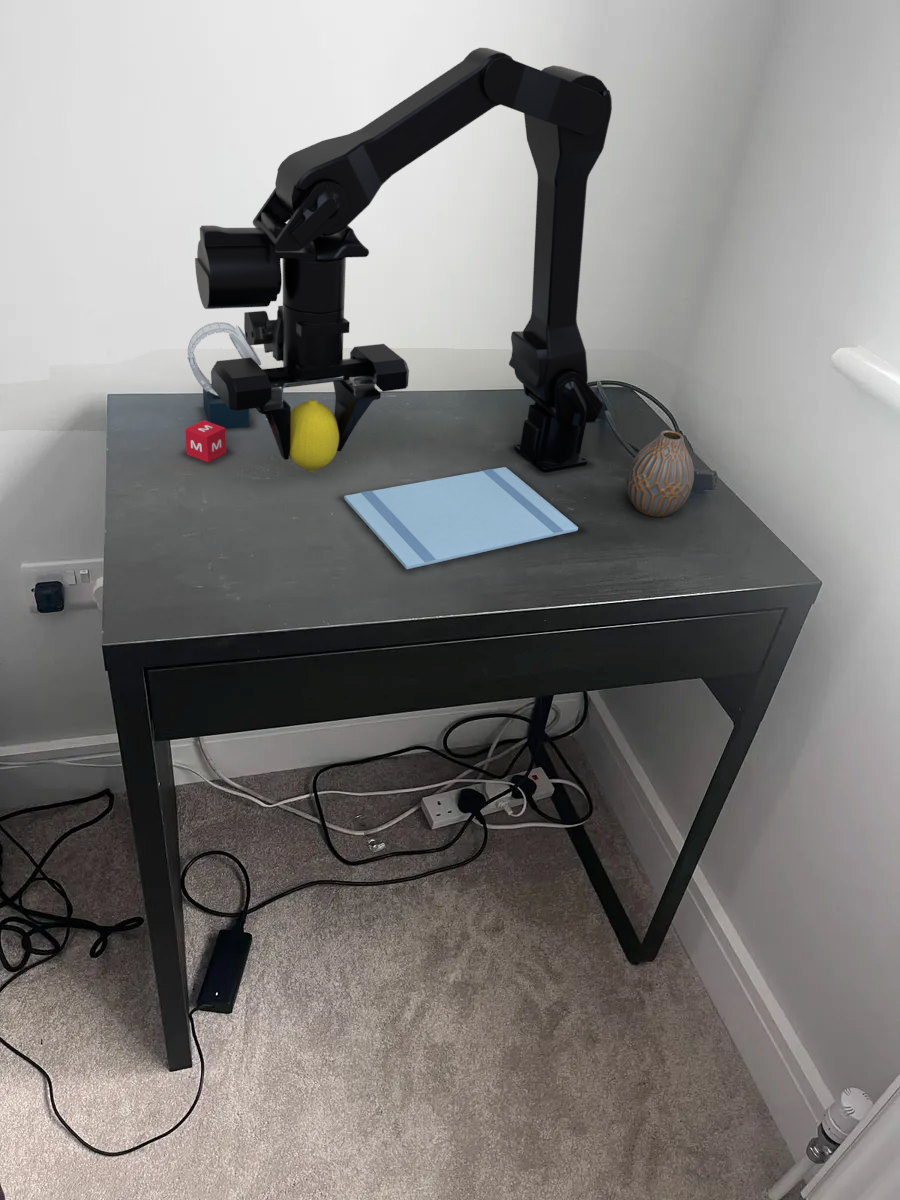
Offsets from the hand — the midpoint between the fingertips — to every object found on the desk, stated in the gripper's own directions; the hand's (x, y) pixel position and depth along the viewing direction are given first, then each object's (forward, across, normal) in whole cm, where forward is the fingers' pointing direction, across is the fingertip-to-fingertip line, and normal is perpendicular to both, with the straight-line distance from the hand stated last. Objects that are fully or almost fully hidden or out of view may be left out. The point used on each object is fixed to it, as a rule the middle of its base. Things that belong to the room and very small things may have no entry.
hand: (311, 453), depth 95 cm
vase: (+4, -33, +17) cm, 37 cm away
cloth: (+4, -12, +11) cm, 17 cm away
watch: (+4, +3, -18) cm, 19 cm away
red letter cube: (+4, +8, -10) cm, 13 cm away
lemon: (+2, 0, 0) cm, 2 cm away
